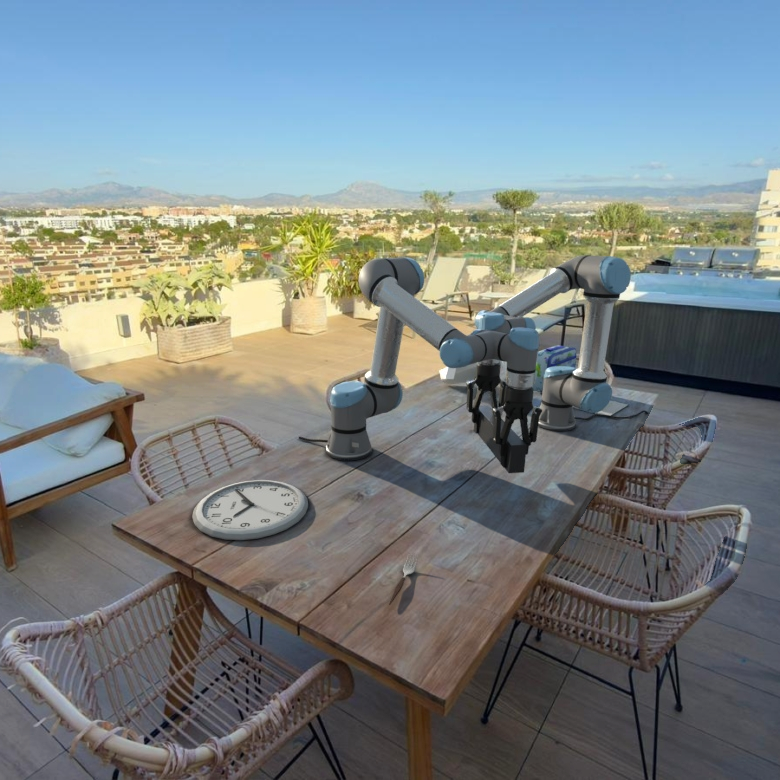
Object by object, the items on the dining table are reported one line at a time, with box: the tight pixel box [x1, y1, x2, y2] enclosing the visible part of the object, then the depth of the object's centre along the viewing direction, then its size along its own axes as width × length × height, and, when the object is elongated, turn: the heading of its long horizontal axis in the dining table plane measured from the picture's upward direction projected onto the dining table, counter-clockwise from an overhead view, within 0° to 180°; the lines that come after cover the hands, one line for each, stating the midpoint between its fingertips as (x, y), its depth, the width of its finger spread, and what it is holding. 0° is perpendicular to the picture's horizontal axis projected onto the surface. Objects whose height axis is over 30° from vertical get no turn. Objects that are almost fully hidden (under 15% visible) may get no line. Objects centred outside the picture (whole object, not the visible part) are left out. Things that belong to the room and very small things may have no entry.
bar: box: [476, 404, 527, 474], centre depth 158 cm, size 33×4×8 cm, turn 8°
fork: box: [388, 554, 419, 606], centre depth 112 cm, size 3×16×2 cm, turn 160°
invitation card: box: [573, 400, 629, 416], centre depth 226 cm, size 21×1×15 cm
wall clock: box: [191, 479, 309, 541], centre depth 140 cm, size 30×2×30 cm
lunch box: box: [533, 345, 577, 394], centre depth 245 cm, size 26×11×21 cm, turn 134°
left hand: (512, 465), depth 147 cm, fingers closed on bar, 4 cm apart
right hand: (483, 431), depth 171 cm, fingers closed on bar, 4 cm apart
